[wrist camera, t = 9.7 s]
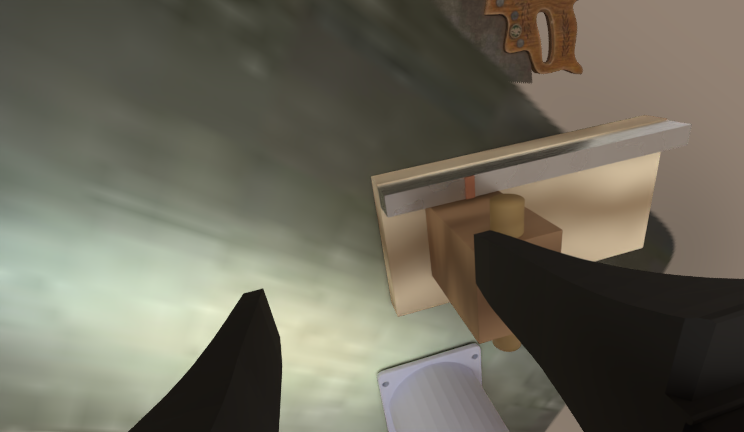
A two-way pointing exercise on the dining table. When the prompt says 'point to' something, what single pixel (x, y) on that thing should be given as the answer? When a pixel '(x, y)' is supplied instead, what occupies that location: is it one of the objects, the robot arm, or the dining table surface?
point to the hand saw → (518, 33)
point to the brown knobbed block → (457, 261)
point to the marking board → (530, 196)
